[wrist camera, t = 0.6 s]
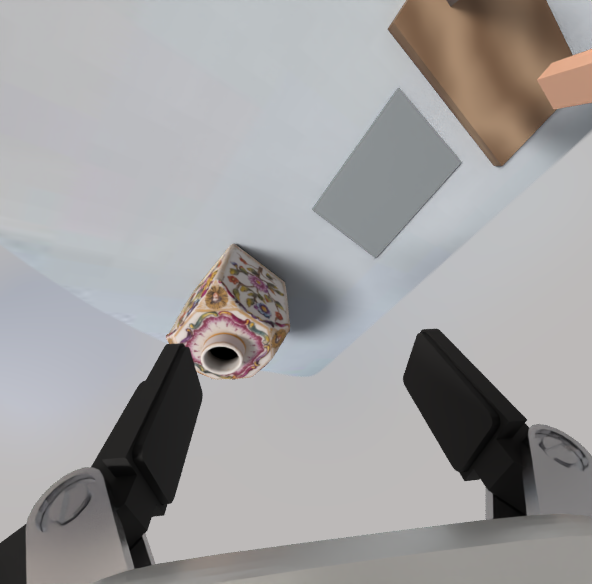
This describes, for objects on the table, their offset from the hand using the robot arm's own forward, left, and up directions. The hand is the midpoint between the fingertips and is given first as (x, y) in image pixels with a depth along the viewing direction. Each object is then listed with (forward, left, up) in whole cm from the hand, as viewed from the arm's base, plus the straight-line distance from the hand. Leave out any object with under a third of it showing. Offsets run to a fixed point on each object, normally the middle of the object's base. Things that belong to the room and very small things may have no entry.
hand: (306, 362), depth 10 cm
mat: (-7, +15, -31) cm, 35 cm away
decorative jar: (+13, -5, -31) cm, 34 cm away
